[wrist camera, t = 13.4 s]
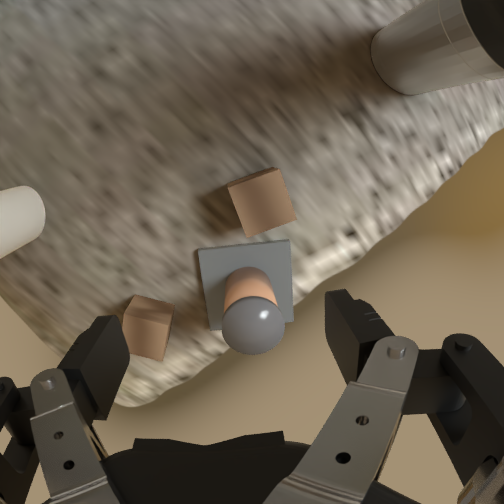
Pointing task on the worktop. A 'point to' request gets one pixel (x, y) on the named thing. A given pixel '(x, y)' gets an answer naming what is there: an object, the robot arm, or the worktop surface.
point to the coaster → (246, 255)
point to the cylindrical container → (19, 218)
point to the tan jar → (251, 312)
